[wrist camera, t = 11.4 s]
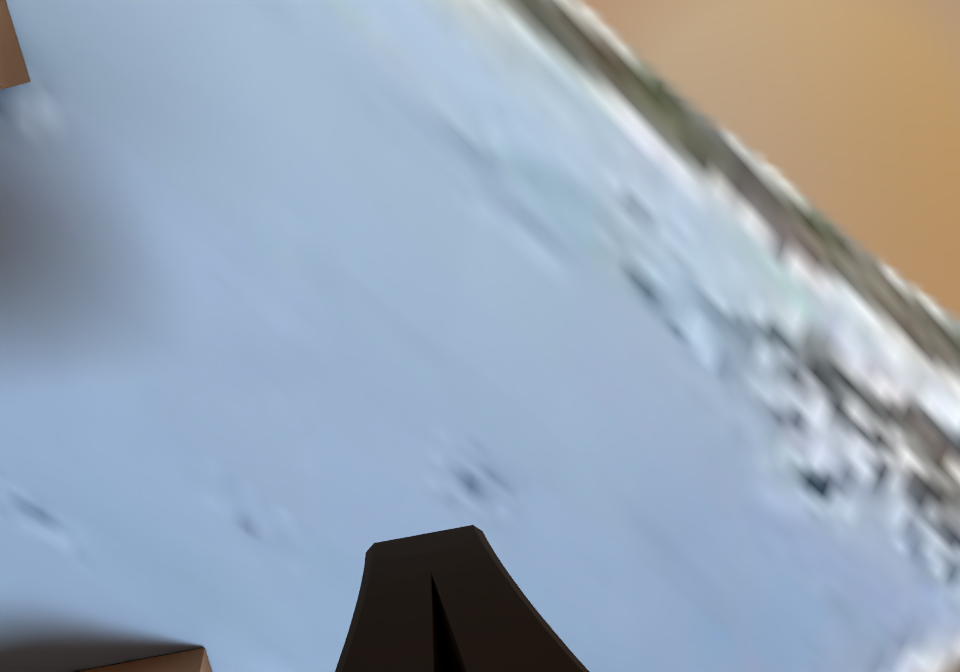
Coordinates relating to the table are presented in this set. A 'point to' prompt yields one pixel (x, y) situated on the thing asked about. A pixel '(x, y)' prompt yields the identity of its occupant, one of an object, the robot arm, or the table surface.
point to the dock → (6, 69)
